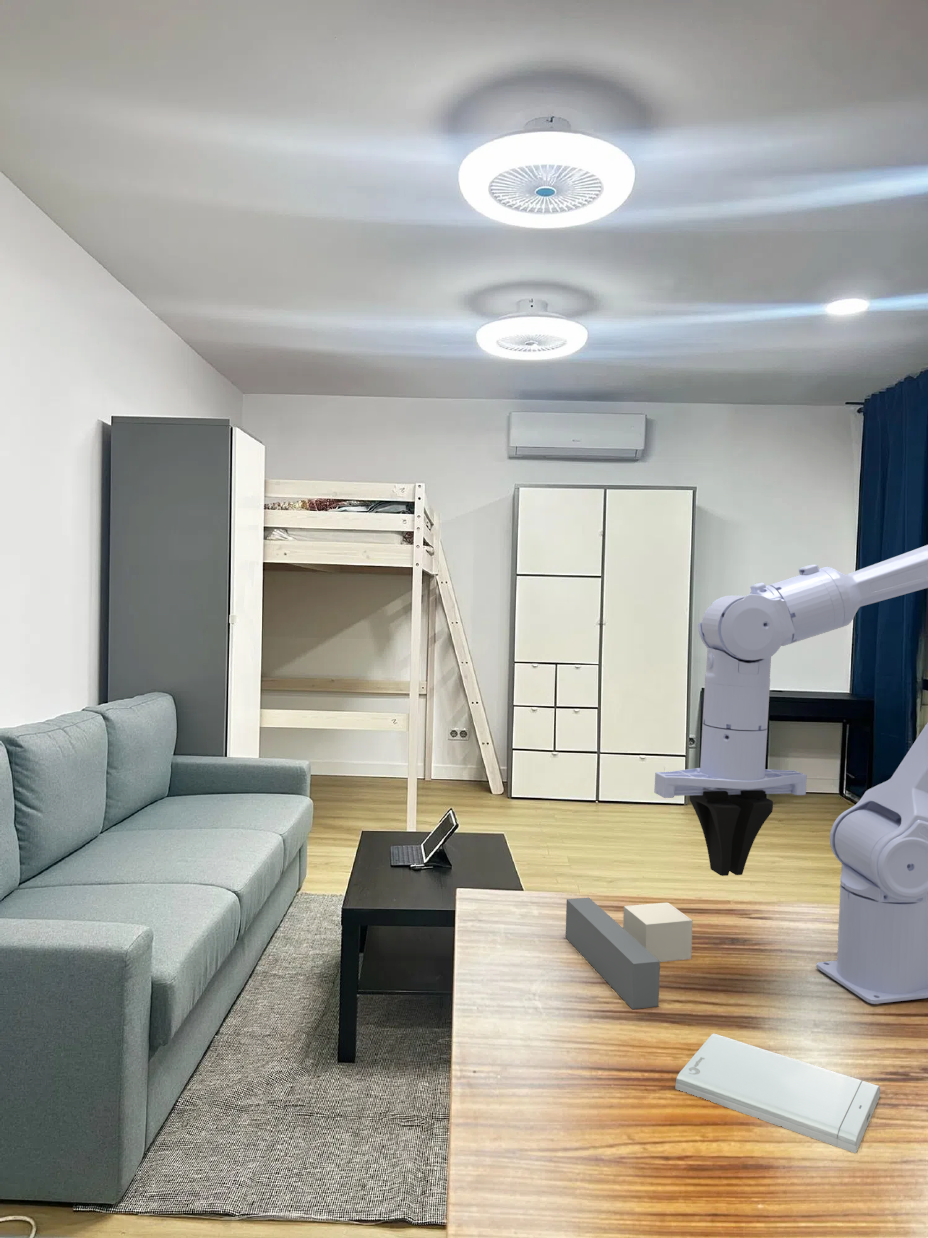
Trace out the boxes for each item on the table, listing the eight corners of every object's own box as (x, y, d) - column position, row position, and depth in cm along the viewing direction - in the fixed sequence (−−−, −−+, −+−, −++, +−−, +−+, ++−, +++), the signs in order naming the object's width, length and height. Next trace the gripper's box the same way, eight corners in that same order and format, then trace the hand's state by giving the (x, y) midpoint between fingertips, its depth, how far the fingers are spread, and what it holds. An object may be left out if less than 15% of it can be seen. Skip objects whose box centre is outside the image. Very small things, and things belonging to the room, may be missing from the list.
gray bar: (588, 935, 95) (589, 897, 94) (658, 1006, 79) (660, 961, 79) (565, 937, 94) (566, 899, 94) (632, 1009, 78) (633, 964, 78)
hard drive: (675, 1075, 66) (856, 1137, 59) (713, 1030, 73) (880, 1081, 66) (674, 1097, 66) (855, 1162, 59) (713, 1050, 73) (879, 1103, 66)
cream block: (666, 940, 94) (667, 902, 94) (691, 960, 89) (692, 920, 89) (622, 944, 93) (623, 906, 93) (645, 965, 88) (646, 924, 88)
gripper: (778, 719, 89) (770, 855, 89) (642, 718, 85) (635, 861, 86) (824, 731, 82) (815, 879, 83) (679, 731, 78) (670, 886, 79)
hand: (726, 872), depth 84 cm, fingers closed
